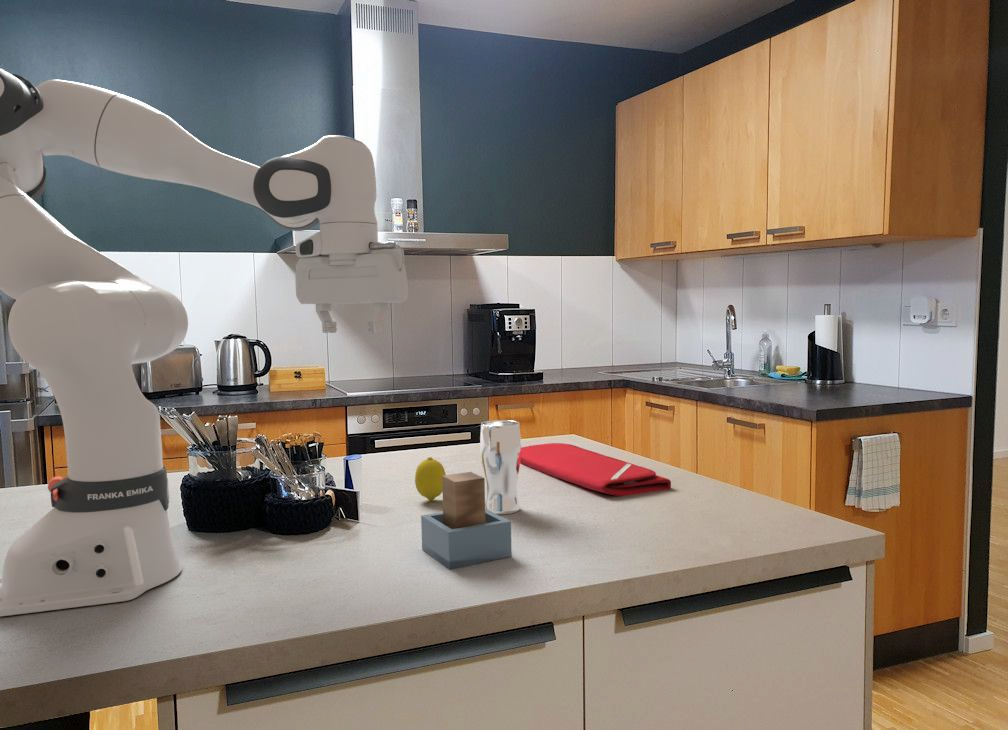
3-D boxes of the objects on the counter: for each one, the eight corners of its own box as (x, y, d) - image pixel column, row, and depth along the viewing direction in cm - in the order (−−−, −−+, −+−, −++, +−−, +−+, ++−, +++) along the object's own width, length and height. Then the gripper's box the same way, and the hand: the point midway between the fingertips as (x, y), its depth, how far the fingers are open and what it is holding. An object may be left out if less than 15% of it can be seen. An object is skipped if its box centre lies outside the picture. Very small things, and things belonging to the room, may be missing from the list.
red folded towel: (566, 453, 179) (566, 438, 178) (673, 491, 141) (673, 472, 141) (506, 460, 172) (506, 444, 172) (601, 502, 135) (601, 481, 135)
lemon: (441, 505, 133) (440, 460, 132) (411, 504, 134) (410, 459, 133) (450, 497, 138) (449, 454, 138) (421, 496, 139) (419, 453, 139)
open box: (449, 569, 101) (448, 532, 100) (422, 549, 109) (421, 515, 109) (511, 556, 105) (510, 521, 105) (480, 538, 114) (480, 505, 113)
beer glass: (508, 517, 125) (506, 427, 123) (473, 512, 128) (471, 424, 127) (529, 507, 130) (528, 421, 129) (495, 502, 134) (493, 418, 133)
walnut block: (456, 553, 104) (454, 482, 103) (443, 544, 108) (442, 475, 107) (486, 548, 106) (484, 477, 105) (472, 539, 110) (470, 471, 109)
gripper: (415, 241, 115) (417, 332, 116) (315, 248, 125) (318, 331, 126) (389, 239, 110) (392, 334, 111) (287, 246, 120) (290, 333, 121)
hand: (352, 333), depth 119 cm, fingers open, 8 cm apart
